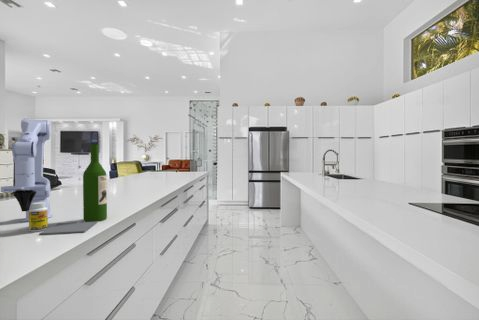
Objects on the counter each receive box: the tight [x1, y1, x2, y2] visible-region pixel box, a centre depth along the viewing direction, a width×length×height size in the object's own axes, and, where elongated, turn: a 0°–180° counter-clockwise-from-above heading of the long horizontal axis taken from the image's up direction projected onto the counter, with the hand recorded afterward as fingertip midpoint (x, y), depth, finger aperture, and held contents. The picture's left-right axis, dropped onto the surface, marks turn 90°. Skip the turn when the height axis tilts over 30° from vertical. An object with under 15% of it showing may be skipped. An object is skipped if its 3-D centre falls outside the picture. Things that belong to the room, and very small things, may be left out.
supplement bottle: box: [28, 202, 49, 233], centre depth 99 cm, size 6×6×10 cm
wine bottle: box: [82, 144, 108, 223], centre depth 115 cm, size 9×9×32 cm
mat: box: [39, 221, 98, 236], centre depth 101 cm, size 14×14×1 cm
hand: (25, 210), depth 98 cm, fingers closed
